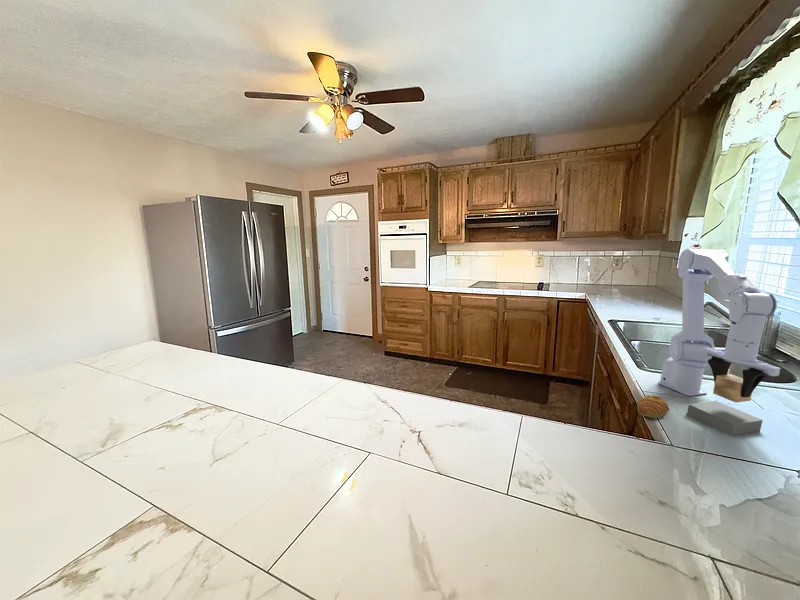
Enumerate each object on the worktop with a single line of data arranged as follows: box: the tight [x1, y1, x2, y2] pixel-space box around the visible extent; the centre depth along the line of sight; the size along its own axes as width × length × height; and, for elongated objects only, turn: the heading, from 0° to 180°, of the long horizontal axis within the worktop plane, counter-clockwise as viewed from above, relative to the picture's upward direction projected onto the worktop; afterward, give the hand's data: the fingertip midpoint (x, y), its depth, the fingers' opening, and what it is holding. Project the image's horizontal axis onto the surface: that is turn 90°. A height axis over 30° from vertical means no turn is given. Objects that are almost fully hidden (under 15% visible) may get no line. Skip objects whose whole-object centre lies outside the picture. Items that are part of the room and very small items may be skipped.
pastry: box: [636, 395, 670, 420], centre depth 89 cm, size 9×7×4 cm
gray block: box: [686, 400, 764, 437], centre depth 85 cm, size 10×10×3 cm
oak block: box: [712, 373, 753, 403], centre depth 84 cm, size 5×5×5 cm
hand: (731, 391), depth 84 cm, fingers closed on oak block, 5 cm apart
